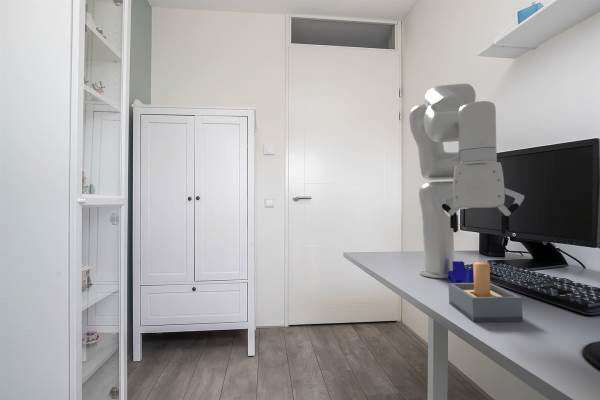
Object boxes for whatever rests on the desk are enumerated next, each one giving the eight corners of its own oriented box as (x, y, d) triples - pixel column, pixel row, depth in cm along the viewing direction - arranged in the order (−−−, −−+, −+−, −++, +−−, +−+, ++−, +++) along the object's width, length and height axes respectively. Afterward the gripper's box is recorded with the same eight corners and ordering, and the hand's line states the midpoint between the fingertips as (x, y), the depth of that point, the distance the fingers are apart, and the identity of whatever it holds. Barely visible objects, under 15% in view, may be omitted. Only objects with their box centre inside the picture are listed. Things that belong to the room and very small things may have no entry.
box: (449, 303, 78) (448, 283, 78) (490, 302, 78) (490, 282, 78) (473, 322, 66) (472, 298, 66) (522, 321, 66) (521, 297, 66)
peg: (475, 304, 74) (473, 261, 74) (491, 306, 72) (489, 262, 72) (474, 308, 71) (472, 264, 71) (490, 310, 70) (489, 265, 70)
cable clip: (448, 280, 101) (447, 261, 101) (462, 280, 100) (462, 261, 100) (464, 290, 89) (463, 269, 89) (480, 290, 88) (480, 269, 88)
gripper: (433, 160, 74) (435, 233, 74) (524, 153, 64) (526, 236, 65) (439, 162, 80) (441, 229, 80) (522, 155, 70) (524, 231, 71)
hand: (478, 232), depth 73 cm, fingers open, 9 cm apart
